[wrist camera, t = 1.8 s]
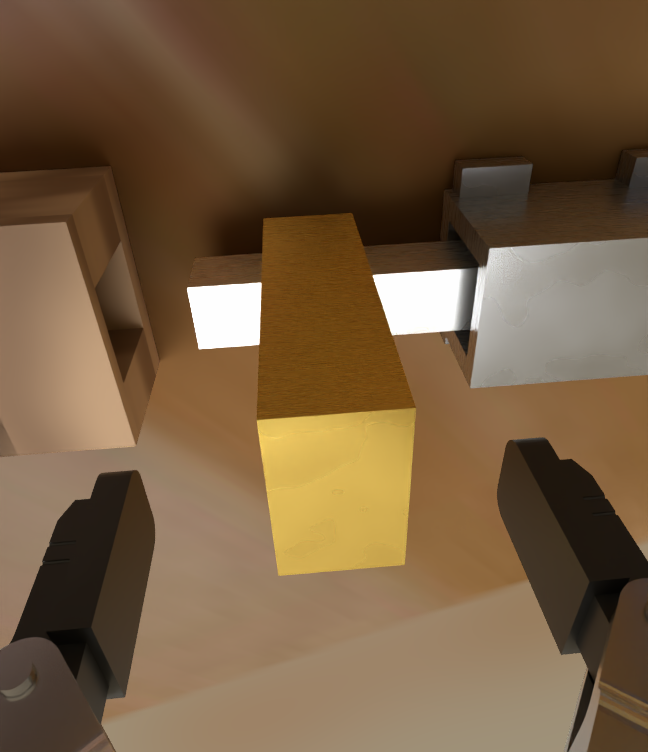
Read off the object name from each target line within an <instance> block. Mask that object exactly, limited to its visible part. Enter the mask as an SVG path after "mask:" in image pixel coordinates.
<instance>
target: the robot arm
mask: <svg viewBox="0 0 648 752" xmlns="http://www.w3.org/2000/svg"><path fill="white" fill-rule="evenodd" d="M497 500H498V506H499V511H500V514H501V517H502V519H503V522H504V524H505V526H506V529H507V531H508V533H509V535H510V538H511V540H512V542H513V545H514V547H515V549H516V552H517V554H518V556H519V559H520V561H521V563H522V565H523V568H524V570H525V572H526V575H527V577H528V579H529V582H530V584H531V586H532V589H533V591H534V593H535V595H536V598H537V600H538V602H539V605H540V607H541V609H542V612H543V614H544V616H545V619H546V621H547V623H548V625H549V628H550V630H551V632H552V635H553V637H554V639H555V642H556V644H557V646H558V649H559V651H560V653H561V655H563V654H573V653H581V654H582V656H583V659H584V661H585V663H586V665H587V669H586V672H585V674H584V678H583V682H582V686H581V689H580V693H579V697H578V701H577V704H576V708H575V712H574V716H573V720H572V723H571V727H570V731H569V734H568V738H567V742H566V746H565V750H564V752H648V561H647V559H646V558H645V556H644V555H643V553H642V552H641V550H640V549H639V547H638V546H637V544H636V542H635V541H634V539H633V538H632V536H631V535H630V533H629V532H628V530H627V529H626V527H625V526H624V524H623V522H622V521H621V519H620V518H619V516H618V515H616V514H615V510H614V509H613V507H612V505H611V504H610V502H609V501H608V499H605V495H604V493H603V492H602V490H601V489H600V487H599V485H598V484H597V482H596V481H595V479H594V478H593V476H592V475H591V474H590V473H588V472H587V471H586V470H585V469H583V468H582V467H581V466H580V465H578V464H577V463H576V462H575V461H573V460H572V459H566V460H560V459H559V458H558V456H557V454H556V453H555V451H554V449H553V448H552V446H551V444H550V443H549V441H548V440H547V439H545V438H543V437H542V438H530V439H518V440H509V441H508V443H507V445H506V448H505V453H504V458H503V463H502V468H501V473H500V478H499V483H498V489H497ZM49 544H50V546H49V547H47V550H46V553H45V555H44V558H43V561H42V562H43V565H42V566H40V569H39V571H38V574H37V576H36V579H35V582H34V584H33V587H32V590H31V592H30V595H29V598H28V600H27V603H26V606H25V608H24V611H23V613H22V616H21V619H20V621H19V624H18V627H17V629H16V632H15V634H14V637H13V639H12V641H11V642H10V644H9V645H7V646H5V647H4V648H2V649H1V650H0V752H116V751H115V749H114V747H113V745H112V743H111V742H110V740H109V738H108V736H107V734H106V733H105V731H104V729H103V727H102V725H101V721H102V716H103V711H104V707H105V702H106V699H113V698H123V697H125V695H126V689H127V684H128V679H129V674H130V669H131V664H132V658H133V653H134V648H135V643H136V638H137V633H138V628H139V622H140V617H141V612H142V607H143V602H144V597H145V591H146V586H147V581H148V576H149V571H150V566H151V560H152V555H153V550H154V544H155V524H154V518H153V514H152V511H151V508H150V505H149V502H148V498H147V495H146V492H145V489H144V485H143V482H142V479H141V476H140V474H139V472H138V471H137V470H132V471H120V472H108V473H101V474H100V475H99V476H98V478H97V480H96V483H95V486H94V489H93V492H92V495H91V498H90V499H84V500H75V501H74V502H73V503H72V505H71V506H70V507H69V508H68V509H67V510H66V511H65V513H64V514H63V515H62V516H61V517H60V518H59V520H58V521H57V524H56V526H55V529H54V532H53V534H52V537H51V540H50V542H49Z"/></svg>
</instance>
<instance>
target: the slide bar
mask: <svg viewBox="0 0 648 752" xmlns="http://www.w3.org/2000/svg"><path fill="white" fill-rule="evenodd" d="M478 268H479V263H478V262H477V260H476V259H475V257H474V256H473V255H472V253H471V252H470V250H469V249H468V247H467V246H466V244H465V243H464V242H463V240H453V241H438V242H423V243H408V244H393V245H378V246H363V244H362V241H361V238H360V235H359V232H358V229H357V226H356V223H355V220H354V217H353V214H352V213H343V214H327V215H312V216H296V217H281V218H265V219H263V246H262V253H257V254H242V255H227V256H212V257H197V258H195V260H194V263H193V267H192V271H191V275H190V279H189V283H188V286H187V290H188V295H189V300H190V305H191V310H192V315H193V320H194V325H195V330H196V335H197V340H198V345H199V349H207V348H221V347H234V346H248V345H259V369H258V399H257V425H258V432H259V439H260V446H261V454H262V461H263V468H264V475H265V482H266V489H267V496H268V504H269V511H270V518H271V525H272V532H273V539H274V546H275V554H276V561H277V568H278V575H279V576H281V575H293V574H304V573H315V572H327V571H338V570H350V569H361V568H372V567H384V566H395V565H405V552H406V538H407V525H408V511H409V497H410V483H411V469H412V455H413V441H414V427H415V413H416V407H415V404H414V401H413V398H412V394H411V391H410V388H409V385H408V382H407V379H406V376H405V373H404V370H403V367H402V364H401V361H400V358H399V355H398V352H397V348H396V345H395V342H394V339H393V336H392V335H400V334H414V333H428V332H442V331H456V330H469V329H471V322H472V314H473V306H474V299H475V291H476V283H477V276H478Z"/></svg>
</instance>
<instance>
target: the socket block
mask: <svg viewBox="0 0 648 752" xmlns="http://www.w3.org/2000/svg"><path fill="white" fill-rule="evenodd" d="M159 363H160V361H159V357H158V353H157V349H156V345H155V341H154V337H153V333H152V329H151V325H150V321H149V317H148V313H147V309H146V305H145V301H144V297H143V293H142V289H141V285H140V281H139V277H138V273H137V269H136V265H135V261H134V257H133V253H132V249H131V245H130V241H129V237H128V233H127V229H126V225H125V221H124V217H123V213H122V209H121V205H120V201H119V197H118V193H117V189H116V185H115V181H114V177H113V173H112V169H111V166H103V167H87V168H70V169H53V170H37V171H20V172H3V173H0V457H5V456H18V455H30V454H43V453H56V452H69V451H81V450H94V449H107V448H120V447H132V446H136V444H137V441H138V437H139V433H140V430H141V426H142V423H143V419H144V416H145V412H146V409H147V405H148V402H149V398H150V395H151V391H152V387H153V384H154V380H155V377H156V373H157V370H158V366H159Z"/></svg>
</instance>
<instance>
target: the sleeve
mask: <svg viewBox="0 0 648 752" xmlns="http://www.w3.org/2000/svg"><path fill="white" fill-rule="evenodd" d="M532 167H533V164H532V163H531V162H529V161H528V160H527V159H526V158H524V157H523V156H517V157H501V158H484V159H468V160H455V166H454V177H453V188H452V189H444V197H443V209H442V221H441V233H440V241H453V240H463V242H464V243H465V244H466V246H467V247H468V249H469V250H470V252H471V253H472V255H473V256H474V257H475V259H476V260H477V262H478V263H479V268H478V276H477V283H476V291H475V299H474V306H473V314H472V322H471V329H469V330H456V331H442V332H440V334H441V336H442V339H443V341H444V343H445V344H450V346H451V349H452V351H453V353H454V355H455V357H456V359H457V361H458V364H459V366H460V368H461V370H462V372H463V374H464V376H465V378H466V381H467V383H468V385H469V387H470V388H480V387H493V386H506V385H520V384H533V383H546V382H559V381H572V380H585V379H598V378H611V377H624V376H638V375H648V149H632V150H622V154H621V158H620V162H619V166H618V169H617V173H616V177H615V179H602V180H586V181H570V182H554V183H538V184H530V179H531V173H532Z"/></svg>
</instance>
